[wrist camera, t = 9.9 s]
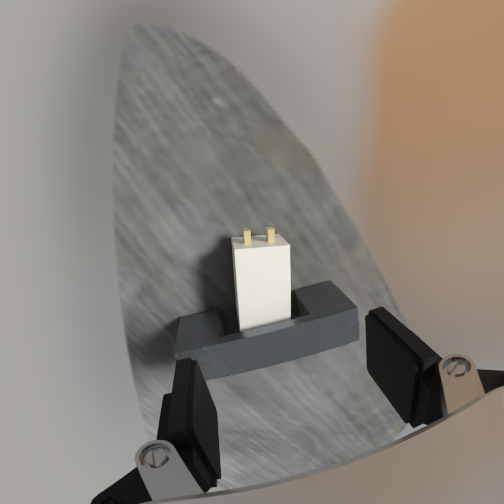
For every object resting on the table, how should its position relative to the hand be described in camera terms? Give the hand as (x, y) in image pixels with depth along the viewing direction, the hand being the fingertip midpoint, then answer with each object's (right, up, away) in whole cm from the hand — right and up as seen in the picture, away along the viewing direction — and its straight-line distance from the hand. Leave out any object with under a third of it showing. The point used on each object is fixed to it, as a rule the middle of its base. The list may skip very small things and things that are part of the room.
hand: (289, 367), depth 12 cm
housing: (-1, -1, +17) cm, 17 cm away
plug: (-1, +1, +16) cm, 16 cm away
